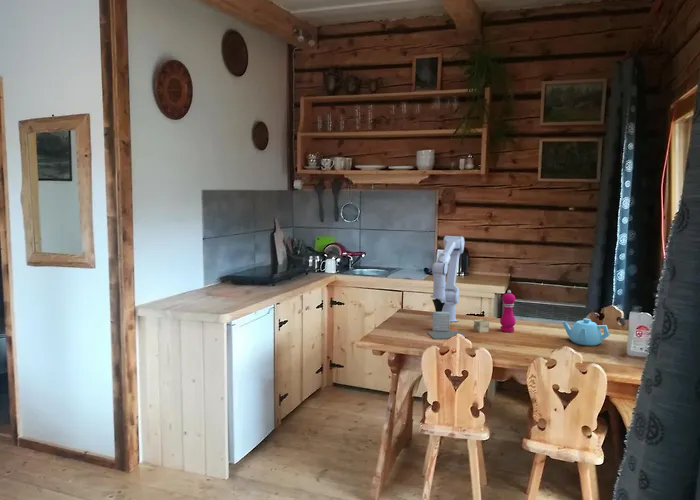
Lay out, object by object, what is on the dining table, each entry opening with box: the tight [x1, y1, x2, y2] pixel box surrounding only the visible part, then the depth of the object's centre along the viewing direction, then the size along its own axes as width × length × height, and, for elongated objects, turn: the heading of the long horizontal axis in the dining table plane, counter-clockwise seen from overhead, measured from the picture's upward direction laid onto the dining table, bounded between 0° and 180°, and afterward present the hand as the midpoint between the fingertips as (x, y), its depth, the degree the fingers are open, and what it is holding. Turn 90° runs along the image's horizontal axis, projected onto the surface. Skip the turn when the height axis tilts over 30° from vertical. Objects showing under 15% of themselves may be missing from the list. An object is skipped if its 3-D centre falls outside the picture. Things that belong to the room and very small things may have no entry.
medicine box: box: [431, 311, 450, 332], centre depth 266 cm, size 8×4×9 cm, turn 84°
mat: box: [427, 330, 468, 340], centre depth 257 cm, size 10×16×1 cm, turn 98°
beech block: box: [473, 319, 490, 334], centre depth 265 cm, size 5×5×5 cm
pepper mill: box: [499, 289, 516, 333], centre depth 265 cm, size 7×7×20 cm
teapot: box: [561, 317, 610, 347], centre depth 247 cm, size 15×15×11 cm
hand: (438, 314), depth 269 cm, fingers closed
